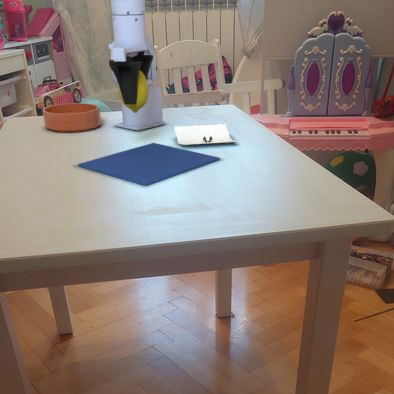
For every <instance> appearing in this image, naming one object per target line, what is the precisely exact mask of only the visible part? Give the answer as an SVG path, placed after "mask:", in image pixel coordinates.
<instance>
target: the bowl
mask: <svg viewBox="0 0 394 394" xmlns="http://www.w3.org/2000/svg"><path fill="white" fill-rule="evenodd" d="M42 116H43V117H42V118H43V122H44V127H45V128H46V129H48V130H50V131H53V132H57V133H79V132H85V131H91V130H94V129H96V128H97V127H99V126H101V124H102V116H101V107H100V106H99V105H98V104H95V103H94V104H93V103H86V102H85V103H84V102H68V103H59V104H53V105H49V106H45V107H44V108H42Z"/></svg>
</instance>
